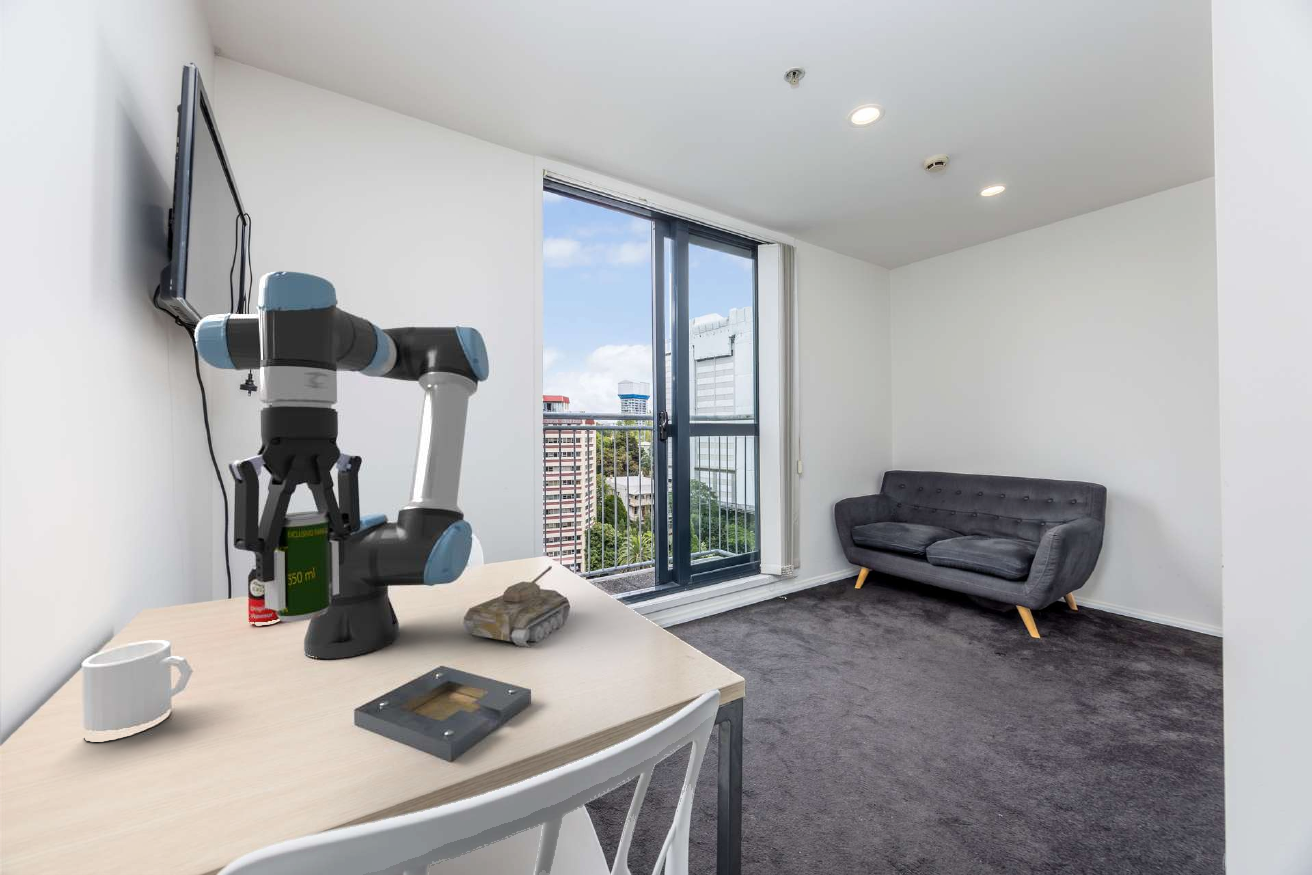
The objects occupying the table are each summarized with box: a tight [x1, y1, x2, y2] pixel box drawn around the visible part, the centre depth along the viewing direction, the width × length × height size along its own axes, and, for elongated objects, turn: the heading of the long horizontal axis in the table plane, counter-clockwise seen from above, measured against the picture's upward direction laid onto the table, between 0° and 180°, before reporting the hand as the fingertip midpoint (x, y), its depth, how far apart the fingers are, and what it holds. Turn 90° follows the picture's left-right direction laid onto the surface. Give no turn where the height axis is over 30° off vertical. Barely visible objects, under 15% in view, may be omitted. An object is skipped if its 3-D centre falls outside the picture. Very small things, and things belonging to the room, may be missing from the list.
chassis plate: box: [353, 665, 532, 763], centre depth 68 cm, size 18×14×2 cm
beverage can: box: [247, 564, 279, 623], centre depth 104 cm, size 6×6×12 cm
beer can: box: [276, 510, 331, 623], centre depth 60 cm, size 5×5×12 cm
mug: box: [81, 639, 194, 731], centre depth 67 cm, size 8×12×10 cm
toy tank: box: [462, 565, 571, 648], centre depth 100 cm, size 15×20×10 cm
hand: (303, 599), depth 60 cm, fingers closed on beer can, 5 cm apart
